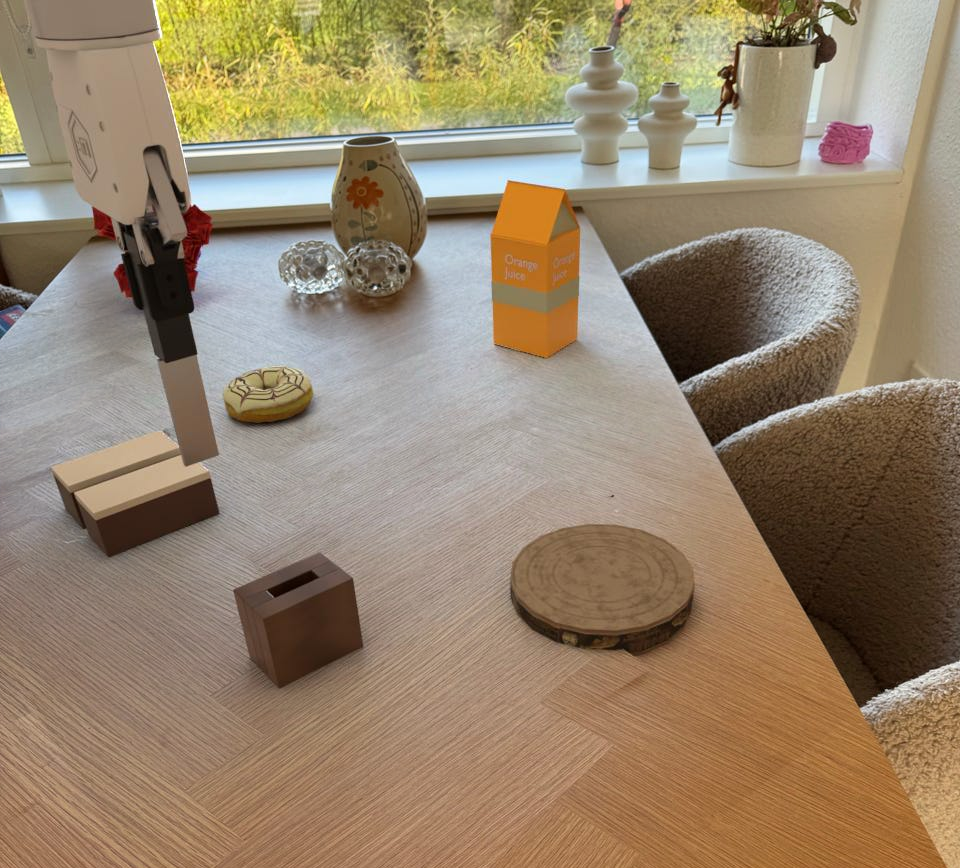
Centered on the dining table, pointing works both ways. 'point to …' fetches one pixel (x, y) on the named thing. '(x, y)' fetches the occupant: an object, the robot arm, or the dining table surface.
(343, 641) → the knife block
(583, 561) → the wood slice coaster
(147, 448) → the cake
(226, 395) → the decorated donut
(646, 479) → the dining table surface
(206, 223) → the bouquet
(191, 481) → the cake slice
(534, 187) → the orange juice
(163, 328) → the knife
